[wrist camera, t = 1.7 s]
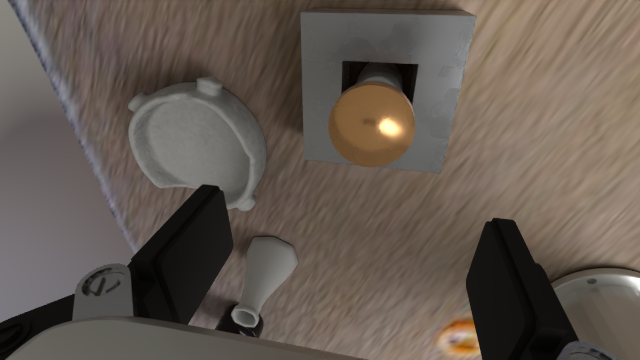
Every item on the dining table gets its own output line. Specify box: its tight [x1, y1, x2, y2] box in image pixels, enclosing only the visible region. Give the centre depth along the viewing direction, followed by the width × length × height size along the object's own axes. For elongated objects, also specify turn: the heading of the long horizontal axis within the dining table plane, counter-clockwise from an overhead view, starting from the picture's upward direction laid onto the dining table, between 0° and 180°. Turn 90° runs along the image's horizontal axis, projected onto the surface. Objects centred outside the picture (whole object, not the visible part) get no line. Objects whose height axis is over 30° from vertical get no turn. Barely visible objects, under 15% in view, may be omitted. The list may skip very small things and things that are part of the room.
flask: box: [231, 237, 298, 327], centre depth 40 cm, size 7×7×10 cm
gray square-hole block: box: [300, 8, 477, 173], centre depth 28 cm, size 12×12×5 cm
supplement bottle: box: [215, 305, 264, 338], centre depth 48 cm, size 7×7×12 cm
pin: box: [328, 62, 415, 167], centre depth 25 cm, size 5×5×11 cm
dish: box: [128, 76, 267, 211], centre depth 35 cm, size 14×14×5 cm
